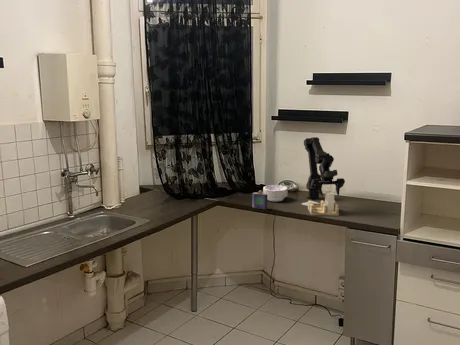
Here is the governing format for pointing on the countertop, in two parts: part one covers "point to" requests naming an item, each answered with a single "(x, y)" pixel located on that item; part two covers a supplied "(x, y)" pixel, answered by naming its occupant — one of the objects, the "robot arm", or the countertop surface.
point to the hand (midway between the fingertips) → (330, 195)
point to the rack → (322, 209)
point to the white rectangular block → (329, 200)
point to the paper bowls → (275, 192)
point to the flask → (259, 200)
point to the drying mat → (307, 203)
